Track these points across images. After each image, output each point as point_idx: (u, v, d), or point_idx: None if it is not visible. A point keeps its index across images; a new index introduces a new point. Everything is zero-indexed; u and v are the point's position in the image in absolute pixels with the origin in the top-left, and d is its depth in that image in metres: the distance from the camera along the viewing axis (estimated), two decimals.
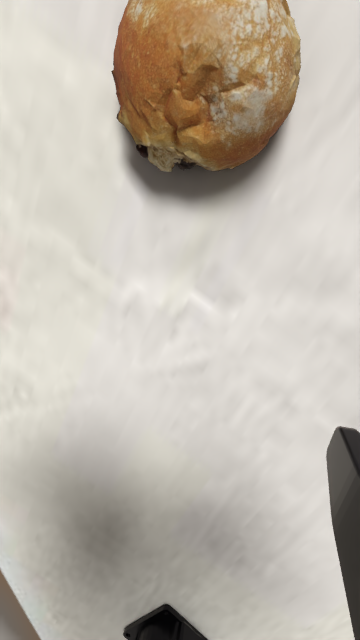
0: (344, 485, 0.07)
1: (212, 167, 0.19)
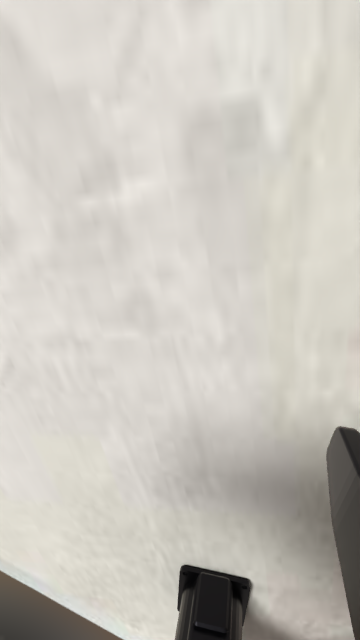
0: (344, 485, 0.07)
1: None
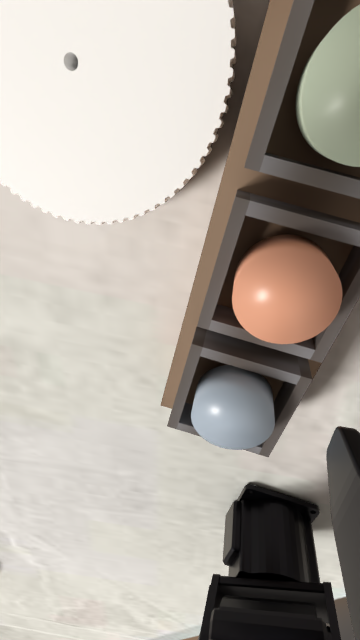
0: (344, 485, 0.07)
1: None
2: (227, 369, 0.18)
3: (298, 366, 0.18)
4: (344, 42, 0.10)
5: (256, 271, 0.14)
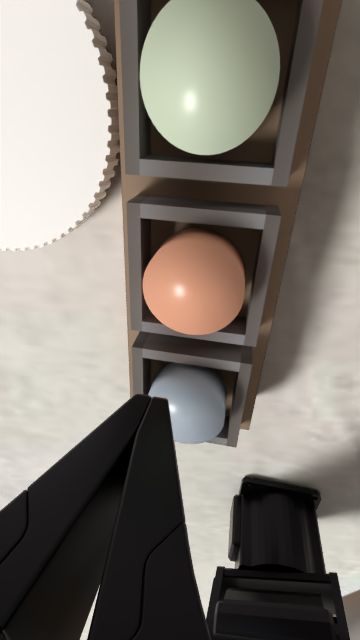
0: None
1: None
2: (173, 366, 0.19)
3: (240, 353, 0.18)
4: (162, 43, 0.10)
5: (157, 269, 0.14)
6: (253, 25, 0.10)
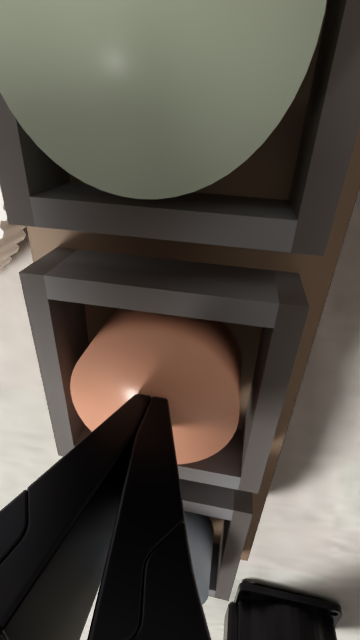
0: None
1: None
2: None
3: None
4: None
5: (91, 372, 0.08)
6: None
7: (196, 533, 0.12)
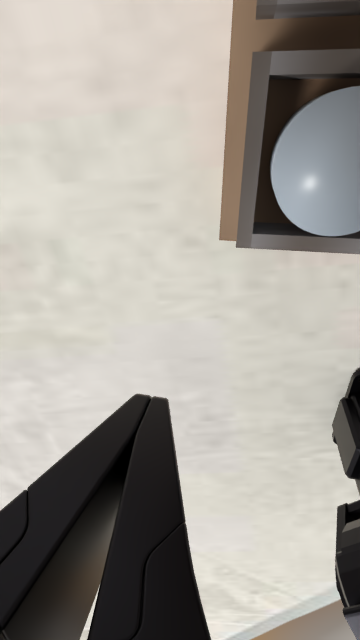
0: None
1: None
2: (317, 97, 0.11)
3: None
4: None
5: None
6: None
7: None
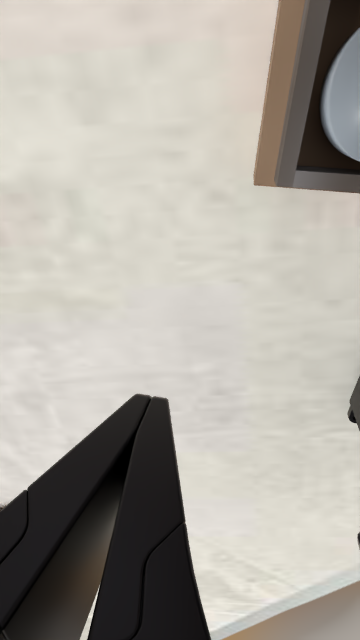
0: None
1: None
2: None
3: None
4: None
5: None
6: None
7: None
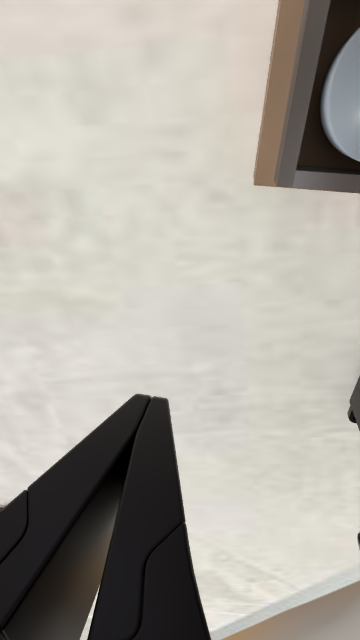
0: None
1: None
2: None
3: None
4: None
5: None
6: None
7: None
